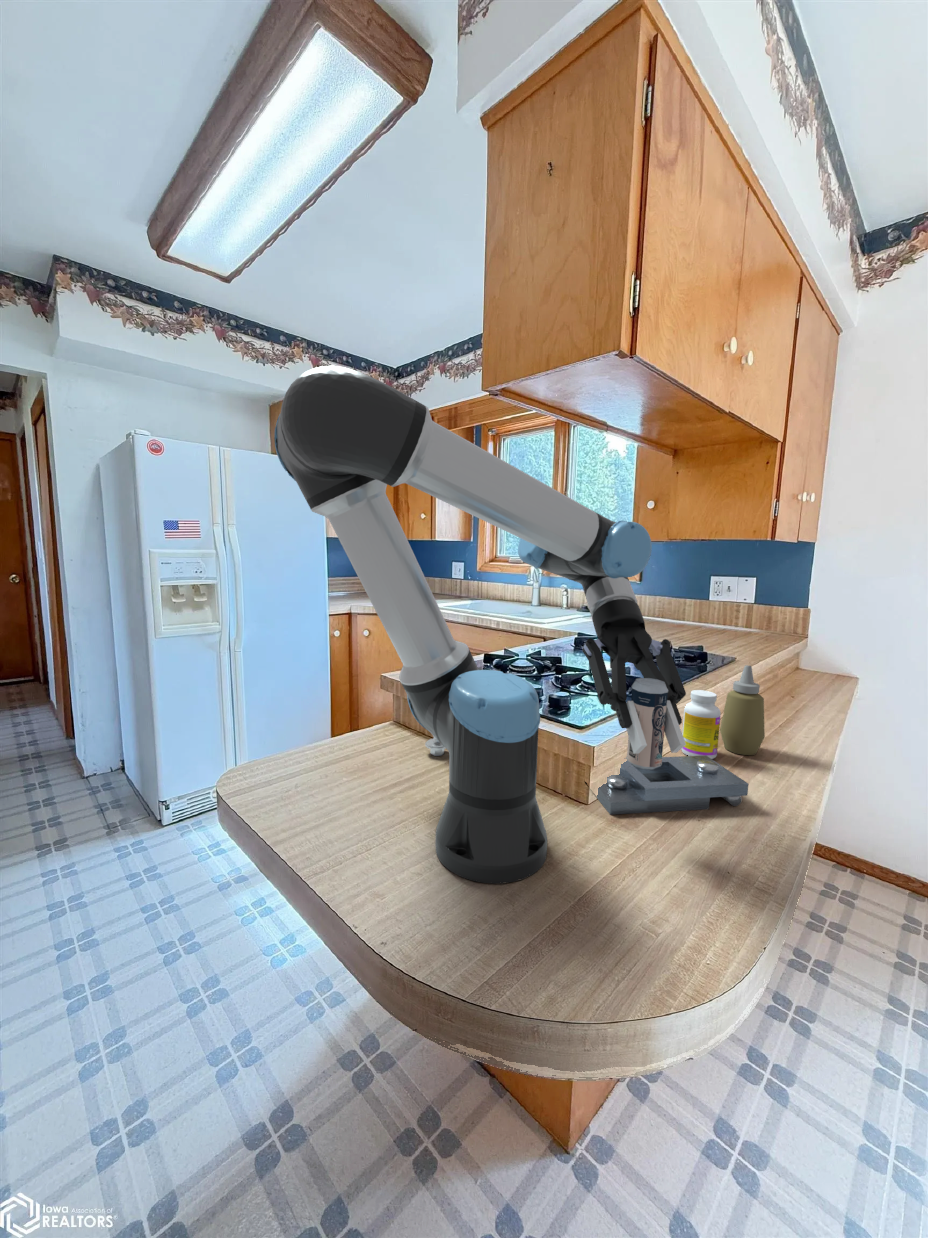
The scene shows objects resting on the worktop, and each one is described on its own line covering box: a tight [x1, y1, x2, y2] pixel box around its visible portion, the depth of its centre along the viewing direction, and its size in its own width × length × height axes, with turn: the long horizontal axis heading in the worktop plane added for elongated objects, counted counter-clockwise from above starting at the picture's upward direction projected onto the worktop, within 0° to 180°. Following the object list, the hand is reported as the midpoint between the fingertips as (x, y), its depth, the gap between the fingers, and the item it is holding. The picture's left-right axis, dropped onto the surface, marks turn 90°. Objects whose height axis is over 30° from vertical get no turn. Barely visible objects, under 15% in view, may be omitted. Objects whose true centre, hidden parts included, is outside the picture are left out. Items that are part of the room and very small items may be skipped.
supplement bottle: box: [680, 689, 722, 760], centre depth 98 cm, size 7×7×13 cm
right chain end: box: [619, 755, 749, 807], centre depth 82 cm, size 18×11×5 cm, turn 97°
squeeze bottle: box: [719, 665, 765, 756], centre depth 100 cm, size 8×8×18 cm
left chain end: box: [596, 773, 711, 815], centre depth 81 cm, size 16×11×3 cm, turn 97°
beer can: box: [625, 677, 668, 769], centre depth 68 cm, size 5×5×12 cm
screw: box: [424, 735, 447, 757], centre depth 96 cm, size 13×5×5 cm
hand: (659, 748), depth 64 cm, fingers closed on beer can, 5 cm apart
